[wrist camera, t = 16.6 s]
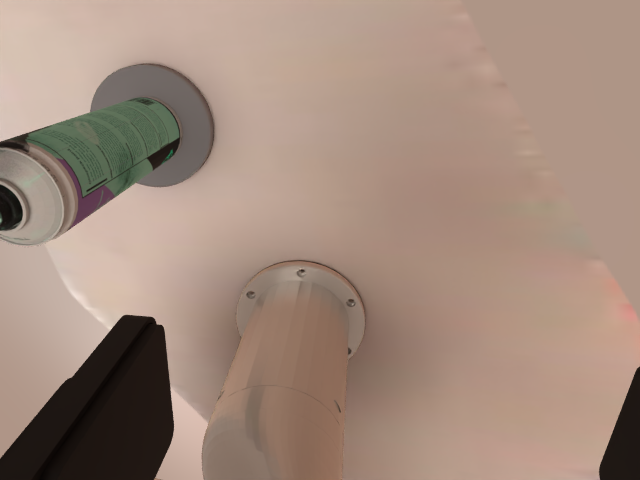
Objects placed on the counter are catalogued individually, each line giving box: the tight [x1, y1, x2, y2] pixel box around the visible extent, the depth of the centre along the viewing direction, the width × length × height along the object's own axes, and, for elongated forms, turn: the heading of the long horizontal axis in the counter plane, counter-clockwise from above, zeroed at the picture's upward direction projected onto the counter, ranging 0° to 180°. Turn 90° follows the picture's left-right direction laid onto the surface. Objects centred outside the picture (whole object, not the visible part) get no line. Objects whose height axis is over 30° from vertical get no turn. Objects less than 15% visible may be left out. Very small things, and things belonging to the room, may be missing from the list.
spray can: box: [0, 96, 183, 247], centre depth 32 cm, size 6×6×20 cm
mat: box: [90, 64, 214, 187], centre depth 41 cm, size 10×10×2 cm
